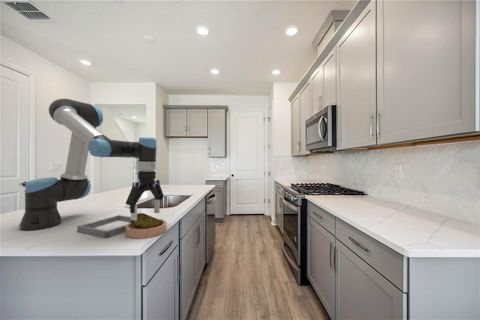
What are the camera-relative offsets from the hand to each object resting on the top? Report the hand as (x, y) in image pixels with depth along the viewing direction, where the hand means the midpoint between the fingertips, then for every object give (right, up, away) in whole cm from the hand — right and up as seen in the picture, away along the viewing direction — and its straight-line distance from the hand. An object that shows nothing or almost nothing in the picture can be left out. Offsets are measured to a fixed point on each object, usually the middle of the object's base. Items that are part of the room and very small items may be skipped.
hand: (146, 216), depth 98 cm
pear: (0, -7, 0) cm, 7 cm away
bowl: (0, -7, 0) cm, 7 cm away
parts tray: (-18, -7, +5) cm, 20 cm away
